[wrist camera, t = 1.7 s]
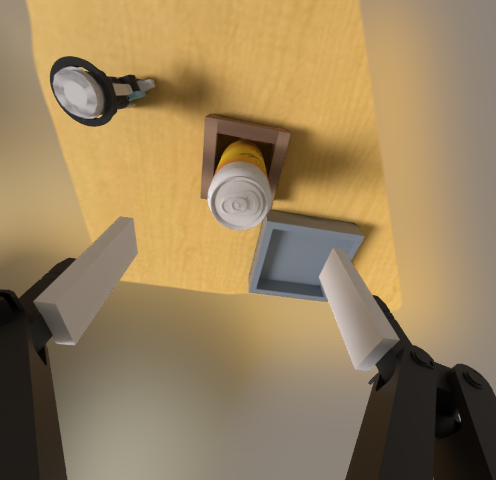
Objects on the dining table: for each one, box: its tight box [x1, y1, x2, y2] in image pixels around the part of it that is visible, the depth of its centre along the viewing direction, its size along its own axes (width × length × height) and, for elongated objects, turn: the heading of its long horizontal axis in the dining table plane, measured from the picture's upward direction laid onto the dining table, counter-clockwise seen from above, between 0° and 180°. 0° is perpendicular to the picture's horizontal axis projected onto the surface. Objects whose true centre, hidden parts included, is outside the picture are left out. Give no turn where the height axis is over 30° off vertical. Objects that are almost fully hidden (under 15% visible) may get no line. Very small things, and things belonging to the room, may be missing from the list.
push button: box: [50, 56, 156, 127], centre depth 23 cm, size 7×5×10 cm
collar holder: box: [201, 114, 291, 209], centre depth 31 cm, size 10×10×4 cm
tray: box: [249, 210, 365, 302], centre depth 40 cm, size 16×16×4 cm
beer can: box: [208, 140, 272, 230], centre depth 26 cm, size 6×6×15 cm
